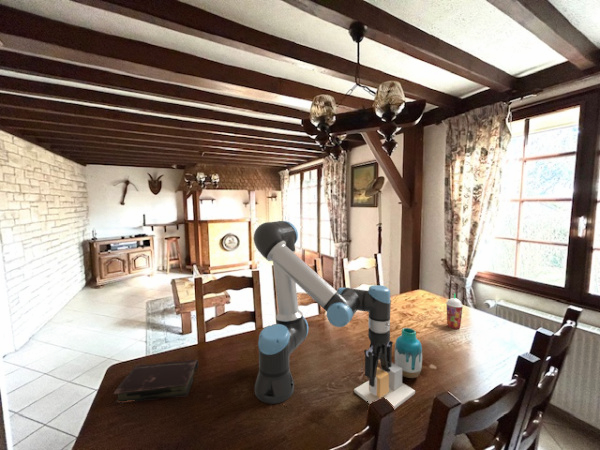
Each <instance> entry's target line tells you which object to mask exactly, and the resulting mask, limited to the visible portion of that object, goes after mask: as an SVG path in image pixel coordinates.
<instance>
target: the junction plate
mask: <svg viewBox="0 0 600 450" xmlns="http://www.w3.org/2000/svg"><path fill="white" fill-rule="evenodd" d="M389 369H390V372H388V371H387V373H389V392H388V393H387V394H385V395H384V396H382V397H384V398H385V399H387V400H388V401H389V402H390V403H391V404H392V405H393V406H394V407H395V409H397V408H398V407H400V406H401V405H402V404H403V403H405V402H406V401H408V399H410V398H411V397H413V396H414V395H415V394H416V390H415V389H413V388H412V387H410V386H409V385H407V384H405V383H403V376H402V368H401V367H399V366H398V365H396V364H395V362H392V366H391V367H389ZM353 391H354V393H355V394H356V395H357V396H359V397H360V398H361V399H363V400H364V401H365V402H367V401H368V402H367V403H368V404H369V403H370V402H372V401H374V400H377V399H379V397H378V396H377V395H376V396H375V395H374V394H372V393H371V392H370V391H369V380H367V381H366V382H364V383H362V384H360V385H358V386H357V387H355V388H354V389H353Z"/></svg>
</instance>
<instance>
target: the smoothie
mask: <svg viewBox="0 0 600 450" xmlns="http://www.w3.org/2000/svg"><path fill="white" fill-rule="evenodd" d="M463 307H464V305H463V303H462V301H461V300H460V299H458V298H457V297H456V293H453V297H451V298H449V299H448V300H447V301H446V324H447V326H448V327H449V328H450V327H451V328H450V329H453V328H454V329H453V330H457V329H460V327H461V324H462V315H463V309H464V308H463Z"/></svg>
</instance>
